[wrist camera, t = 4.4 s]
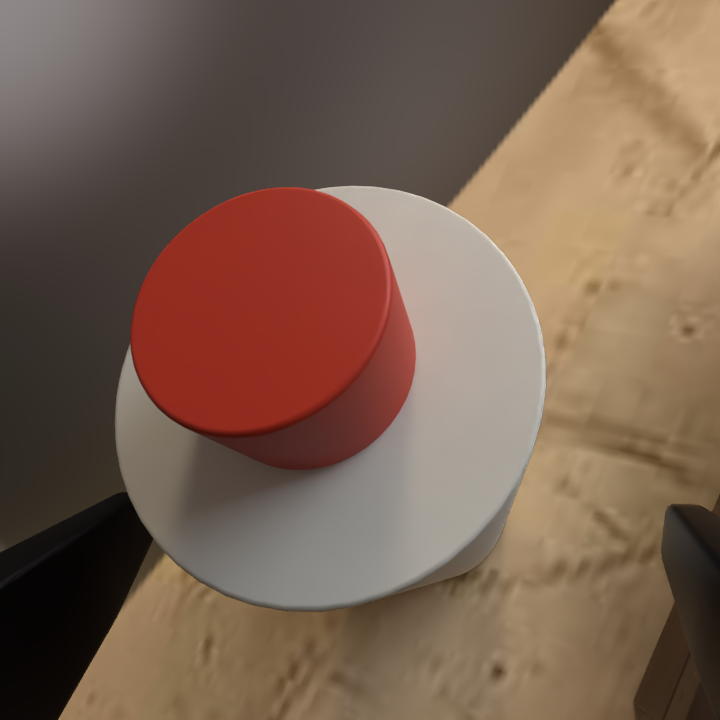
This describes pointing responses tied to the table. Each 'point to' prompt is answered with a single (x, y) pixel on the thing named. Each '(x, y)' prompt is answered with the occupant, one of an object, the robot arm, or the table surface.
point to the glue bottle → (328, 396)
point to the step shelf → (674, 676)
